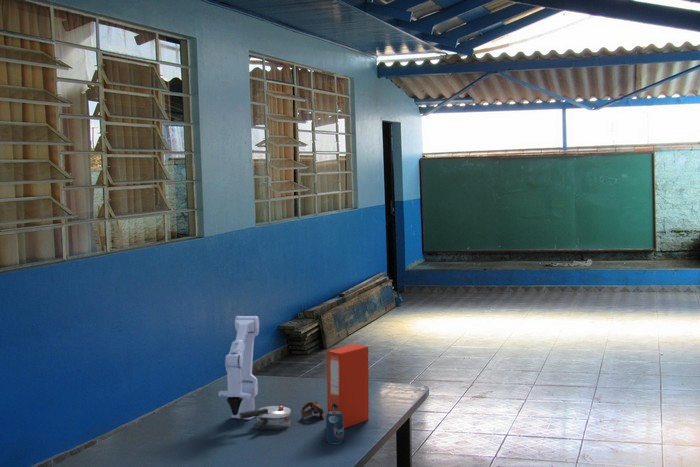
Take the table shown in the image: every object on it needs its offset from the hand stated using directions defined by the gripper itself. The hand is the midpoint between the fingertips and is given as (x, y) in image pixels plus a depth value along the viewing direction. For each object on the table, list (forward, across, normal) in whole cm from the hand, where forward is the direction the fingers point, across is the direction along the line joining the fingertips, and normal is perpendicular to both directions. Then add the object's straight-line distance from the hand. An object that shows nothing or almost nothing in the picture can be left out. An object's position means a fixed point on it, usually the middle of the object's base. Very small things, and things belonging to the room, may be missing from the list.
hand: (235, 414), depth 349 cm
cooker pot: (+6, +12, +9) cm, 16 cm away
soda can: (+7, +45, +2) cm, 45 cm away
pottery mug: (+7, +23, +27) cm, 36 cm away
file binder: (+7, +40, +26) cm, 48 cm away
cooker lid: (+1, +10, +8) cm, 13 cm away
